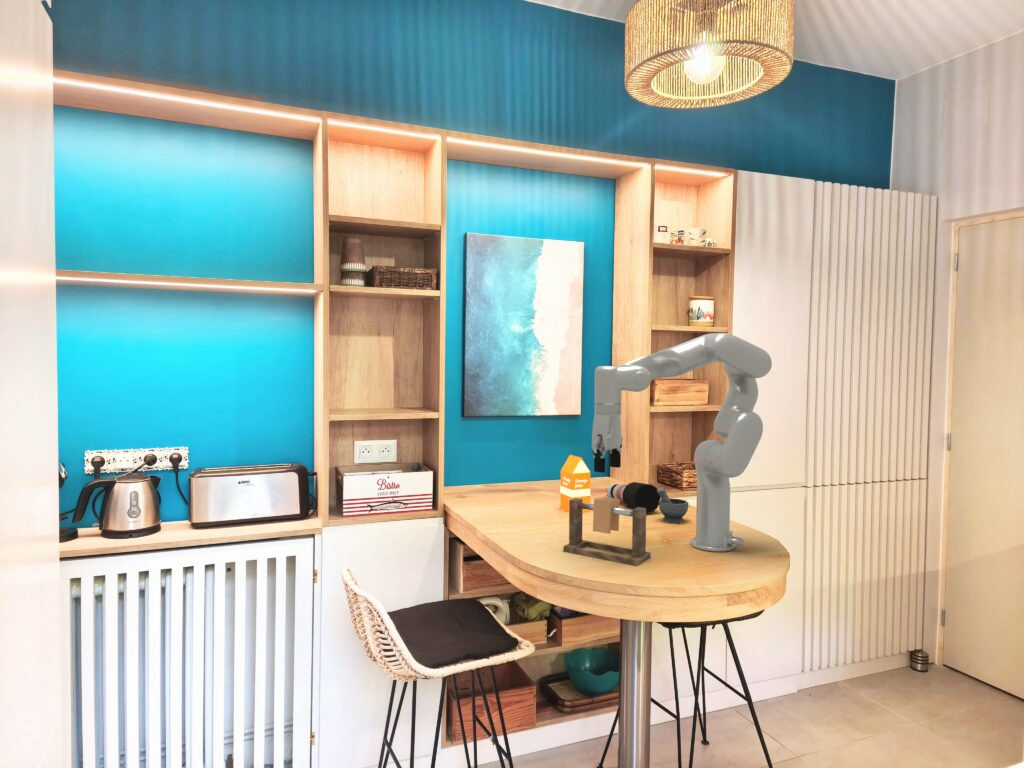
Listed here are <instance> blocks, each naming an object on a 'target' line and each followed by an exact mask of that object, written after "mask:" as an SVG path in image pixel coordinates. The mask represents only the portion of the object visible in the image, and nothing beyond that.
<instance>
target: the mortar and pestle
mask: <svg viewBox="0 0 1024 768" xmlns="http://www.w3.org/2000/svg"><path fill="white" fill-rule="evenodd" d="M657 489H658V490H657V492H658V494H659V495H660V500H659V505H658V508H659V510H660V513H661V514H662V515H663V516H664V518H663V521H664V523H666V524H667V523H668V524H675V525H677V524H682V523H684V522H683V517H684V516H685V515H686V514H687V512H688V510H689V502H688V501H687V500H685V499H680V498H671V497H670V496H668V493H667V492H666V488H664V487H662V486H661V487H659V488H657Z"/></svg>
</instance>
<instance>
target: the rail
mask: <svg viewBox="0 0 1024 768" xmlns="http://www.w3.org/2000/svg"><path fill="white" fill-rule="evenodd" d="M578 508H581V509H587V510H590V511H593V512H594V503H590V504H589V503H583V502H579V503H578ZM611 513H613V514H619V516H620V515H621V516H626V517H632V518H633V509H630V508H622V507H620V508H617V507H614V508H611Z"/></svg>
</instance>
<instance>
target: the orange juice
mask: <svg viewBox="0 0 1024 768" xmlns="http://www.w3.org/2000/svg"><path fill="white" fill-rule="evenodd" d="M559 492H560V510H562V511H565V512H567V513H569V500H571V499H574V498H579V499H583V503H589V504H591V471H590V469H589V468H588V466H587V465H586V463H585V462H584V460H583V458H582V457H580V456H576V455H572V454H569V456H568V457H567V459H566V460H565V463H564V464H563V466H562V468H561V469H560V491H559ZM590 512H591V510H587V509H582V514H583V513H584V514H585V513H590Z"/></svg>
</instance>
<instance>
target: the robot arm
mask: <svg viewBox="0 0 1024 768" xmlns="http://www.w3.org/2000/svg"><path fill="white" fill-rule="evenodd" d="M713 363H723V368H724V371H725V373H726V375H727V378H728V384H729V386H728V391H727V395H725V398H724V401H723V402H722V405H721V407H720V409H719V411H718V413H717V415H716V417H715V420H714V422H713V431H714V433H715V434H716V435H717V436H718V437H719V438H722V439H724V441H720V440H716V439H708V440H704V441H701V442H700V443H699V444H698V445H697V446H696V448H695V451H694V456H693V458H694V459H693V460H694V467H695V473H696V474H695V475H696V515H695V516H696V519H695V520H696V523H695V524H696V526H695V528H696V529H695V537H693V538H691V539H690V545H691V546H692V547H694V548H695V549H698V550H702V551H707V552H715V553H716V552H718V553H719V552H720V553H721V552H730V551H732V550H734V549H735V547H736V546H739V547H740V546H742V547H743V546H744V545H745V543H744V542H745V539H744V538H742V537H738V536H734V535H733V531H731V530H730V527H731V526H730V521H731V515H730V514H731V513H730V512H731V483H730V479H733V478H737V477H739V476H741V475H742V474H743V473H744V472H745V471H746V469H747V468H748V466H749V464H750V462H751V460H752V457H753V456H754V454H755V452H756V449H757V447H758V446H759V443H760V441H761V439H762V436H763V432H764V424H763V421H762V418H761V417H760V415H759V414H758V413H756V412H755V411H754V409H755V406H756V404H757V401H758V397H759V387H758V386H759V385H758V383H757V380H756V379H760V378H764V377H765V376H767V375H768V374H769V372H770V371H771V369H772V364H773V363H772V357H771V356H770V354H769V353H768V352H767V351H766V350H765V349H763V348H762V347H759V346H757V345H755V344H753V343H750V342H748V341H746V340H744V339H742V338H740V337H738V336H736V335H734V334H731V333H728V332H714V333H706V334H703V335H700V336H698V337H694V338H692V339H689V340H688V341H684V342H683V343H679V344H677V345H674V346H671V347H669V348H664V349H663V350H660V351H659V350H658V351H657V352H654V353H650V354H647V355H644V356H641V357H638V358H635V359H633V360H630V361H628V362H625V363H622V364H620V365H619V366H617V365H598V366H597V367H596V368H595V370H594V415H593V416H594V417H593V421H592V432H591V449H592V454H593V459H594V460H593V470H594V472H596V473H606V457H605V455H606V452H608V451H610V452H609V467H610V468H621V466H622V465H621V463H622V461H621V456H622V447H623V444H622V443H623V441H624V439H623V436H622V423H621V415H622V391H628V392H634V393H638V392H643V391H644V390H646V389H648V388H649V387H650V385H651V383H652V381H653V380H656V379H657V380H658V379H665V378H673V377H678V376H682V375H685V374H687V373H690V372H692V371H694V370H697V369H700V368H701V367H702V368H703V367H706V366H707V365H710V364H713ZM735 545H736V546H735Z"/></svg>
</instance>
